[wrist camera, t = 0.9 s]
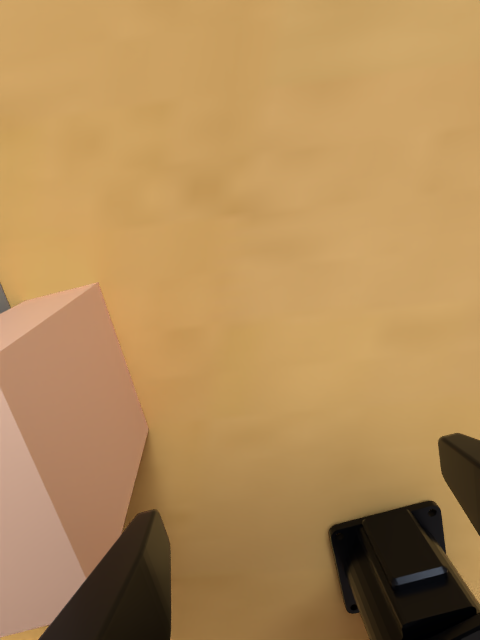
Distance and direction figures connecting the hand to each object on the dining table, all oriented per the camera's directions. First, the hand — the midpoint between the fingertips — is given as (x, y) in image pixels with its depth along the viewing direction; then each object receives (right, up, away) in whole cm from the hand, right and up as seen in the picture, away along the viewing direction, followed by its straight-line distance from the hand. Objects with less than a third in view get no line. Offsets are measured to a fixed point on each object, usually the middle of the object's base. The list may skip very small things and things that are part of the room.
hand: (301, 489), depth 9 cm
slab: (-9, +1, +11) cm, 14 cm away
